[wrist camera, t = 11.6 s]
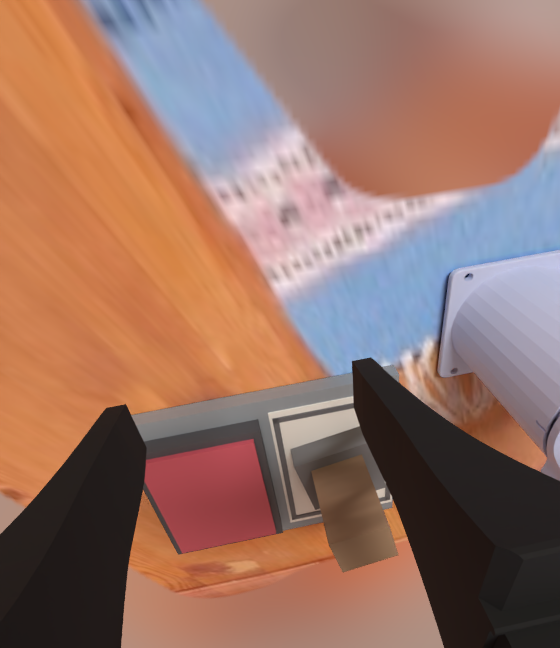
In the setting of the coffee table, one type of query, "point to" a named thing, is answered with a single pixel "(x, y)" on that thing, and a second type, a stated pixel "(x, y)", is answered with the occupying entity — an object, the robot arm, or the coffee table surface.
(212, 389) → the coffee table surface
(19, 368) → the coffee table surface
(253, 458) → the stamp board
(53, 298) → the coffee table surface
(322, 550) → the coffee table surface
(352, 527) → the stamp
